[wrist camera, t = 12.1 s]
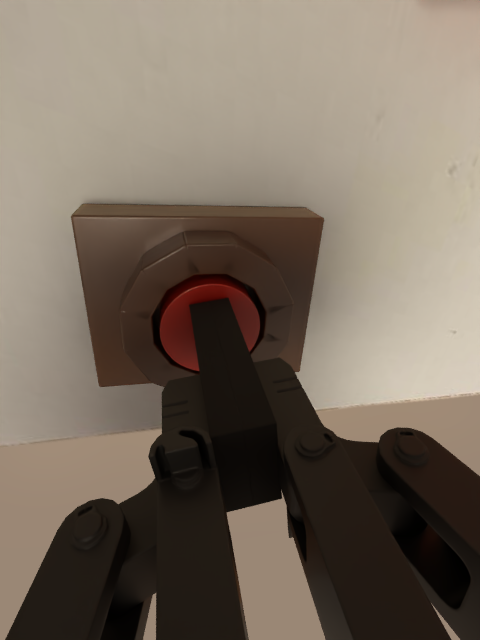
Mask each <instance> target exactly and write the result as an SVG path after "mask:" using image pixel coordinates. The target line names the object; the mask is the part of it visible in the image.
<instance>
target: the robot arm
mask: <svg viewBox="0 0 480 640" xmlns="http://www.w3.org/2000/svg"><path fill="white" fill-rule="evenodd" d="M189 308H190V314H191V320H192V327H193V333H194V340H195V346H196V352H197V359H198V365H199V371H200V374H199V375H194V376H189V377H184V378H179V379H174V380H169V381H168V383H167V384H166V386H165V388H164V390H163V392H162V435H160V436H159V437H158V438H157V439H156V441H155V442H154V443H153V444H152V446H151V448H150V453H149V460H150V463H151V466H152V469H153V471H154V474H155V479H154V481H153V482H152V483H151V484H150V485H149V486H148V487H147V488H146V489H144V490H143V491H141V492H140V493H138V494H137V495H135V496H133V497H131V498H129V499H127V500H125V501H124V502H122V503H120V504H117V503H116V502H114V501H113V500H109V499H103V498H101V499H96V500H91V501H88V502H87V503H85V504H83V505H81V506H79V507H77V508H76V509H75V510H74V511H73V512H72V513H71V514H69V515H68V516H67V517H66V518H65V520H64V521H63V523H62V524H61V526H60V527H59V529H58V530H57V532H56V535H55V537H54V539H53V541H52V543H51V545H50V548H49V549H48V552H47V553H46V556H45V558H44V560H43V562H42V564H41V566H40V568H39V570H38V572H37V574H36V577H35V579H34V581H33V583H32V585H31V587H30V589H29V591H28V593H27V595H26V597H25V600H24V602H23V604H22V606H21V608H20V610H19V612H18V614H17V616H16V618H15V620H14V623H13V625H12V627H11V629H10V631H9V633H8V635H7V637H6V639H5V640H143V636H144V631H145V626H146V622H147V618H148V613H149V608H150V604H151V599H152V595H153V594H155V593H156V640H249V639H248V633H247V627H246V622H245V616H244V610H243V605H242V599H241V593H240V587H239V581H238V575H237V570H236V564H235V558H234V552H233V546H232V540H231V535H230V530H229V525H228V520H227V513H226V512H230V511H234V510H238V509H242V508H245V507H250V506H254V505H258V504H262V503H266V502H270V501H274V500H278V499H281V498H282V493H283V496H284V499H285V502H286V505H287V519H288V533H289V538H291V537H293V538H294V541H295V544H296V547H297V550H298V553H299V557H300V560H301V563H302V566H303V569H304V572H305V575H306V578H307V582H308V585H309V588H310V591H311V594H312V597H313V601H314V604H315V607H316V610H317V613H318V616H319V620H320V622H321V626H322V629H323V632H324V635H325V639H326V640H451V638H450V636H449V635H448V633H447V631H446V629H445V628H444V626H443V624H442V622H441V620H440V619H439V617H438V615H437V613H436V611H435V610H434V608H433V606H434V607H435V608H436V610H437V611H438V612H439V613H440V615H441V616H442V617H443V618H444V620H445V621H446V622H447V623H448V624H449V626H450V627H451V628H452V629H453V631H454V632H455V633H456V635H457V636H458V637H459V638H460V640H480V476H479V475H477V474H476V473H475V472H474V471H472V470H471V469H470V468H469V467H467V466H466V465H465V464H464V463H462V462H461V461H460V460H459V459H457V458H456V457H455V456H454V455H453V454H451V453H450V452H449V451H448V450H447V449H445V448H444V447H442V445H440V444H439V443H438V442H437V441H435V440H434V439H433V438H431V437H429V436H428V435H426V434H425V433H423V432H421V431H418V430H414V429H411V428H394V429H391V430H388V431H387V432H385V433H384V434H383V435H382V436H381V437H380V440H379V443H377V442H358V441H350V440H346V439H343V438H340V437H337V436H336V435H335V434H334V432H333V431H331V430H329V429H327V428H326V427H324V426H323V424H322V423H321V421H320V419H319V417H318V415H317V414H316V412H315V410H314V408H313V406H312V404H311V402H310V400H309V399H308V397H307V395H306V393H305V391H304V389H303V388H302V385H301V384H300V382H299V380H298V379H297V376H296V374H295V372H294V370H293V369H292V367H291V365H289V364H288V363H287V362H285V361H284V360H283V359H281V358H280V357H278V358H273V359H268V360H263V361H258V362H253V360H252V358H251V355H250V352H249V350H248V347H247V345H246V342H245V339H244V337H243V334H242V332H241V329H240V326H239V324H238V321H237V319H236V316H235V313H234V311H233V308H232V306H231V303H230V301H229V298H224V299H218V300H213V301H207V302H201V303H196V304H190V305H189ZM281 490H282V493H281ZM431 603H432V604H431ZM432 605H433V606H432Z"/></svg>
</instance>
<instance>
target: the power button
mask: <svg viewBox="0 0 480 640" xmlns="http://www.w3.org/2000/svg"><path fill="white" fill-rule="evenodd" d="M224 298H229V301H230V303H231V306H232V308H233V311H234V313H235V316H236V319H237V321H238V324H239V326H240V329H241V332H242V334H243V337H244V339H245V342H246V345H247V347H248V350H249V352H250V351H251V349H252V348H253V346H254V345H255V343H256V340H257V338H258V335H259V330H260V318H259V314H258V311H257V309H256V306H255V304H254V303H253V301H252V299H251V297H250V295H249V293H248V291H247V289H246V288H245V286H244V285H243V283H242V282H240V281H239V280H237V279H235V278H233V277H231V276H229V275H227V274H204V275H193V276H192V277H190V278H188V279H186V280H184V281H183V282H181V283H179V284H177V285H176V286H174V287H172V288H170V289H168V290H167V291H166V293H165V295H164V297H163V298H162V300H161V303H160V339H161V342H162V345H163V347H164V349H165V351H166V352H167V354H168V355H169V356H170V357H171V358H172V359H173V360H174V361H176V362H177V363H178V364H180V365H182V366H184V367H186V368H189V369H192V370H196V371H199V365H198V359H197V352H196V346H195V340H194V333H193V327H192V320H191V314H190V308H189V305H190V304H196V303H201V302H207V301H213V300H218V299H224Z"/></svg>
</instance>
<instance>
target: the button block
mask: <svg viewBox="0 0 480 640" xmlns="http://www.w3.org/2000/svg"><path fill="white" fill-rule="evenodd" d="M71 220H72V226H73V232H74V238H75V244H76V250H77V256H78V262H79V268H80V274H81V280H82V286H83V292H84V298H85V304H86V310H87V316H88V322H89V328H90V334H91V340H92V346H93V352H94V359H95V365H96V371H97V377H98V383H99V386H100V387H107V386H120V385H133V384H146V383H154V384H157V385H160V386H163V387H165V386H166V384H167V383H168V381H169V380H174V379H179V378H184V377H189V376H194V375H199V374H200V371H196V370H192V369H189V368H186V367H184V366H182V365H180V364H178V363H177V362H176V361H174V360H173V359H172V358H171V357H170V356H169V355H168V354H167V352H166V351H165V349H164V347H163V345H162V342H161V339H160V303H161V300H162V298H163V297H164V295H165V293H166V291H167V290H168V289H170V288H172V287H174V286H176V285H177V284H179V283H181V282H183V281H184V280H186V279H188V278H190V277H192V276H193V275H204V274H227V275H229V276H231V277H233V278H235V279H237V280H239V281H240V282H242V283H243V285H244V286H245V288H246V289H247V291H248V293H249V295H250V297H251V299H252V301H253V303H254V304H255V306H256V309H257V311H258V314H259V318H260V330H259V335H258V338H257V340H256V343H255V345H254V346H253V348H252V349H251V351H250V355H251V358H252V360H253V362H258V361H263V360H268V359H273V358H278V357H280V358H281V359H283V360H284V361H285V362H287V363H288V364H289V365H291V367H292V369H293V370H294V372H299V371H300V365H301V359H302V353H303V347H304V340H305V334H306V328H307V322H308V316H309V309H310V303H311V297H312V291H313V285H314V278H315V272H316V266H317V260H318V254H319V247H320V241H321V235H322V229H323V222H324V218H323V217H321V216H319V215H318V214H316V213H314V212H312V211H311V210H309V209H307V208H302V207H240V206H179V205H117V204H82V205H81V206H80V207H79V208H78V209H77V210H76V211H75V212H74V213H73V214H72V216H71Z"/></svg>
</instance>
